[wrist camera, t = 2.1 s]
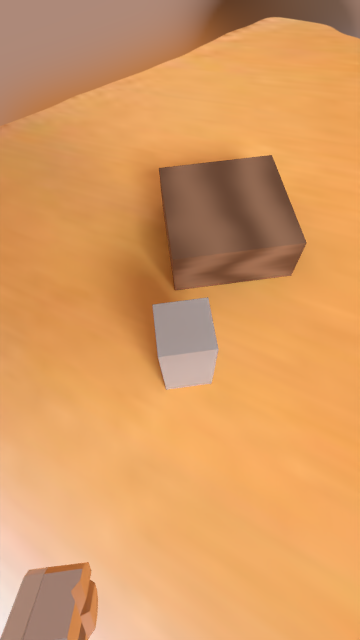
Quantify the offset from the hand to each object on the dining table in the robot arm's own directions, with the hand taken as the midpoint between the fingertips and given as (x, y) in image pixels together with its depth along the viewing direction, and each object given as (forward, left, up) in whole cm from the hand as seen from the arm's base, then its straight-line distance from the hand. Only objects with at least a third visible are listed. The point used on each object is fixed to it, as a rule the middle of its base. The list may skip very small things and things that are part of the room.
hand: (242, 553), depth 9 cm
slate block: (0, +11, -17) cm, 21 cm away
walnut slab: (+6, +25, -17) cm, 31 cm away
